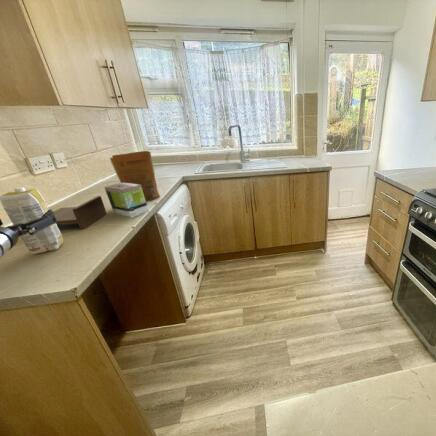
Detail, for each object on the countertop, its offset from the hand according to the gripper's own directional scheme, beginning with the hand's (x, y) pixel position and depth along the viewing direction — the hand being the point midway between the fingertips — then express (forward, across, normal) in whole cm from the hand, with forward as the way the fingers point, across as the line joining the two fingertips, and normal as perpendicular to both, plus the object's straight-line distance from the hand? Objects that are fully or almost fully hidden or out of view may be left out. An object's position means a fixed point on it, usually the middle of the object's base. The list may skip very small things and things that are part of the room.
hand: (26, 216), depth 85 cm
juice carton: (+4, 0, -15) cm, 15 cm away
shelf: (+30, +2, -15) cm, 33 cm away
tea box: (+31, +26, -15) cm, 43 cm away
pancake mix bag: (+49, +31, -15) cm, 60 cm away
